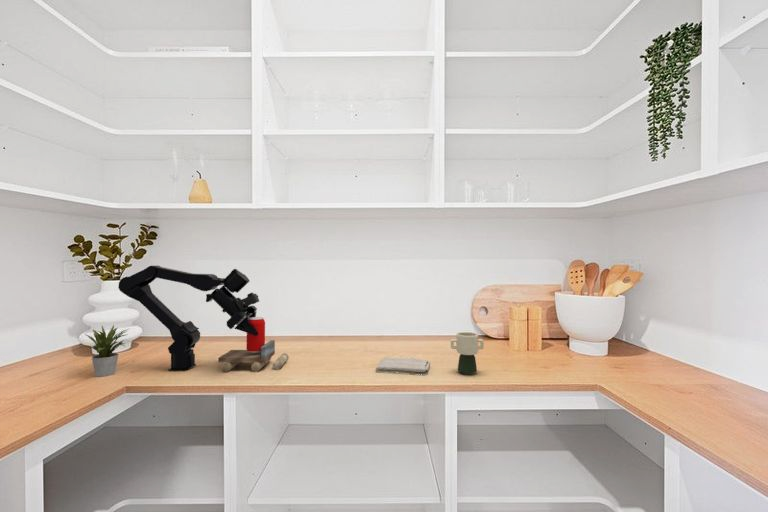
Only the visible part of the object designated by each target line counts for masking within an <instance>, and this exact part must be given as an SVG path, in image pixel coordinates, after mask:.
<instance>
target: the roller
mask: <svg viewBox="0 0 768 512" xmlns="http://www.w3.org/2000/svg"><path fill="white" fill-rule="evenodd" d="M289 357H290V356H289V355H288V354H287V353H282V354H281V355H279V356H278V358H277V359H276V360H274V362H273V363H272V367H273V368H274V369H275V370H280V369H281V368H282V367H283V366H284V365H285V364H286V363H287V362H288V360H289Z"/></svg>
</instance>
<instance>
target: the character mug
mask: <svg viewBox="0 0 768 512" xmlns="http://www.w3.org/2000/svg"><path fill="white" fill-rule="evenodd" d="M455 335H456V336H455V337H456V338H452V339H450V349H452V350H456V352H457V353H458V354H459V357H458V363H457V371H458V372H459V373H461V374H462V373H463V374H466V375H472V374H475V373H477V372H478V371H477V370H478V369H477V362H476V361H477V359H476V356H475V355H478V352H479V350H483V349H484V347H485V345H484V343H485V342H484V339H483V338H479V335H478V333H476V332H472V331H459V332H456V334H455ZM454 343H456V345H455V344H454ZM479 343H480V345H479Z"/></svg>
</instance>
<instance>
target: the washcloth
mask: <svg viewBox="0 0 768 512" xmlns="http://www.w3.org/2000/svg"><path fill="white" fill-rule="evenodd" d="M430 367H431V361H428V359H418V358H415V357H398V356H397V357H393V356H392V357H390V356H386V357H382V358H381V360H380V362H379V364H377V366H376V367H375V372H376V373H381V372H398V373H411V374H410V375H414V374H420V375H419V376H427V374H428V373H429V369H430ZM421 374H422V375H421Z"/></svg>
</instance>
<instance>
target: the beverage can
mask: <svg viewBox="0 0 768 512" xmlns="http://www.w3.org/2000/svg"><path fill="white" fill-rule="evenodd" d="M249 321H250V322H251V324H252V325H253V326H254V328H255V329H256V330H257V332H258V333H259V334H258V335H257V336H255V335H252V334H249V333H247V332H246V349H245V350H247V351H248V352H250V353H259V352H261V347H262V346H264V345H265V344H266V321H265V319H264V317H263V316H256V317H251V318H249Z"/></svg>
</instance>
